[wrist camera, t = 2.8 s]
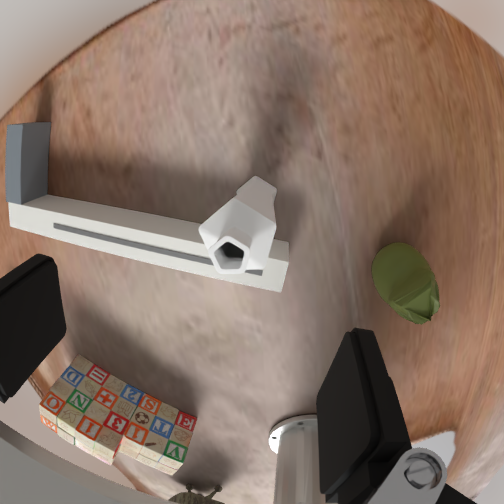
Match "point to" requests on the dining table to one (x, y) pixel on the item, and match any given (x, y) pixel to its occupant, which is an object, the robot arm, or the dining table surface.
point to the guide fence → (112, 219)
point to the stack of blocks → (115, 418)
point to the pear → (406, 282)
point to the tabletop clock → (195, 497)
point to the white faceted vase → (242, 229)
